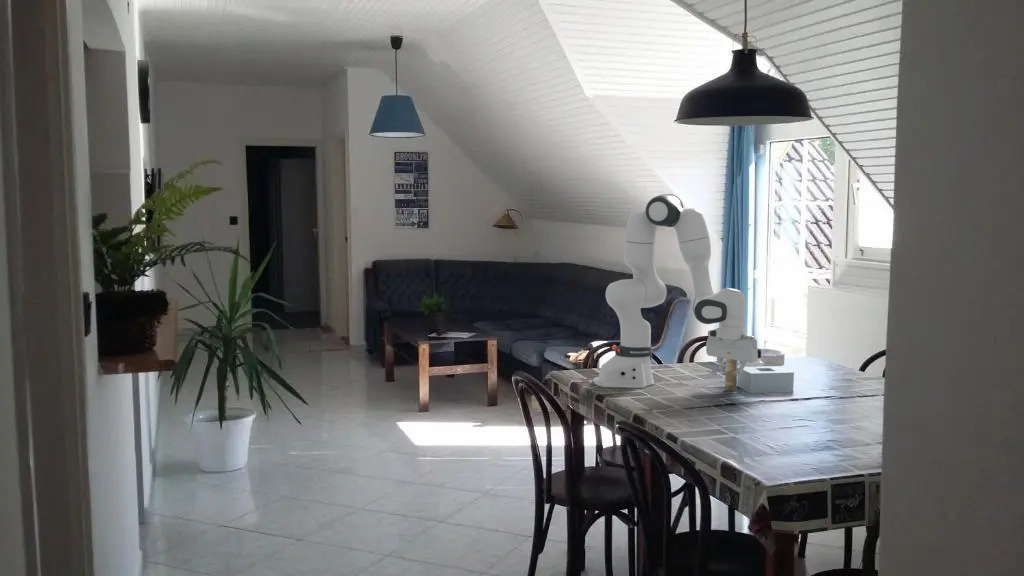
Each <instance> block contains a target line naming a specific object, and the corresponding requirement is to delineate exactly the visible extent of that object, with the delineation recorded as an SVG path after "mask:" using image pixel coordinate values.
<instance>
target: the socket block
mask: <svg viewBox="0 0 1024 576" xmlns="http://www.w3.org/2000/svg"><path fill="white" fill-rule="evenodd" d="M739 367H740V366H737V368H739ZM794 378H795V372H794V371H792V370H789V369H788V368H785V367H782V366H762V367H744V368H743V373H737V384H736V387H739V388H740V389H742V390H744V391H745V392H748V393H751V394H756V393H757V394H758V393H759V394H761V393H762V394H763V393H764V394H765V393H766V394H767V393H790V392H791V393H792V392H794V385H795V384H794V382H795V381H794V380H795V379H794Z"/></svg>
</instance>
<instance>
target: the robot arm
mask: <svg viewBox="0 0 1024 576" xmlns="http://www.w3.org/2000/svg"><path fill="white" fill-rule="evenodd" d="M659 227H667V228H674V230H675V234H676V236H677V242H678V246H679V250H680V254H681V256H682V258H683V261H684V263H685V264H686V266H687V267H688V269H689V271H690V274H691V277H692V278H691V279H692V283H693V284H692V285H693V289H694V300H693V304H692V311H693V314H694V316H695V318H696V321H698V322H699V323H701V324H704V325H713V324H718V323H719V327H717V328H714V329H711V330H708V331H707V336H708V337H707V340H706V344H705V345H706V347H705V353H706V354H707V356H708V357H712V358H713V357H714V358H716V361H717V363H718V365H719V366H718V369H719V370H720V371H725V368H726V364H724V360H726V358H727V352H730V359H732V360H737V362H739V364H740V365H739V366H738V367H739V368H738V367H737V374H738V373H743V368H744V367H745V365H746V362H749V363H753V362H756V361H757V360H758V351H757V348H758V341H757V339H756V338H755V336H751V335H747V334H746V323H745V317H746V310H747V308H746V306H747V305H746V304H747V303H746V296H745V294H744V292H743V291H741V290H740V289H736V288H731V287H724V288H722V289H721V290H719V291H717V292H715V293H714V291H713V288H712V282H711V277H710V271H709V269H710V268H709V264H710V259H711V255H712V254H711V253H712V251H711V250H712V249H711V247H712V246H711V238H710V234H709V230H708V226H707V222H706V221H705V217H704V215H703V212H702V211H701V210H699V209H697V208H684V204H683V202H682V199H680V197H678V196H677V195H675V194H672V193H662V194H661V193H660V194H658V195H657V196H655V197H653V198H651V199H650V200H649V201H648V202H647V204H646V207H645V211H643V210H640V211H634V212H633V213H631V214H630V215H629V217H628V220H627V224H626V228H625V237H624V247H623V262H624V264H625V265H626V267H628V268H629V269H630V270H631V272H632V278H630V279H620V280H619V279H618V280H617V281H613V282H611V283H609V284H608V286H607V287H606V289H605V300H606V302H607V305H609V307H611V308H612V309H613V310H614V312H615V314H616V315H617V318H618V320H619V326H620V327H619V328H620V344H619V345H618V346H617V345H616V344H613V345H612V346H611V349H612V351H614V353H615V355H614V356H612V357H611V358H610V359H608V360H607V361H605V362H604V363H602V365H601V367H600V370H599V375H598V377H597V376H596V377H594V378H593V384H595V385H596V386H597V387H598V386H599V387H602V388H631V389H632V388H635V389H636V388H637V389H638V388H639V389H643V388H646V387H648V386H652V385H654V384H655V381H654V376H653V371H652V363H651V362H652V357H653V348H652V344H651V343H652V342H651V339H652V337H651V333H652V327H651V324H650V322H649V321H647V320H646V319H644V318H643V316H642V310H641V309H643V308H647V309H648V308H653V307H657V306H658V305H661V304H663V303H664V302H665V300H666V298H667V295H668V294H667V293H668V290H667V287H666V284H665V283H664V281H662V280H661V279H660V277H659V275H658V273H657V270H656V266H655V265H656V264H655V255H656V254H655V252H656V251H655V250H656V236H657V230H658V229H659Z"/></svg>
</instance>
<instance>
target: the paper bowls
mask: <svg viewBox="0 0 1024 576" xmlns="http://www.w3.org/2000/svg"><path fill="white" fill-rule="evenodd" d="M757 349H760V350H761V360H760V361H762V362H763V363H764V366H780V367H782V366H785V355H786V353H785V352H784V351H783V350H780V349H773V348H772V349H771V348H758V347H757Z"/></svg>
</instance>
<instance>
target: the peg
mask: <svg viewBox="0 0 1024 576" xmlns="http://www.w3.org/2000/svg"><path fill="white" fill-rule="evenodd" d="M725 365H726V367H725V370H724V371H725V373H724V376H725V377H724V390H725V391H728V392H735V391H737V380H738V373H737V368H738V361H737V360H732V359H730V352H727V358H726V359H725Z"/></svg>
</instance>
